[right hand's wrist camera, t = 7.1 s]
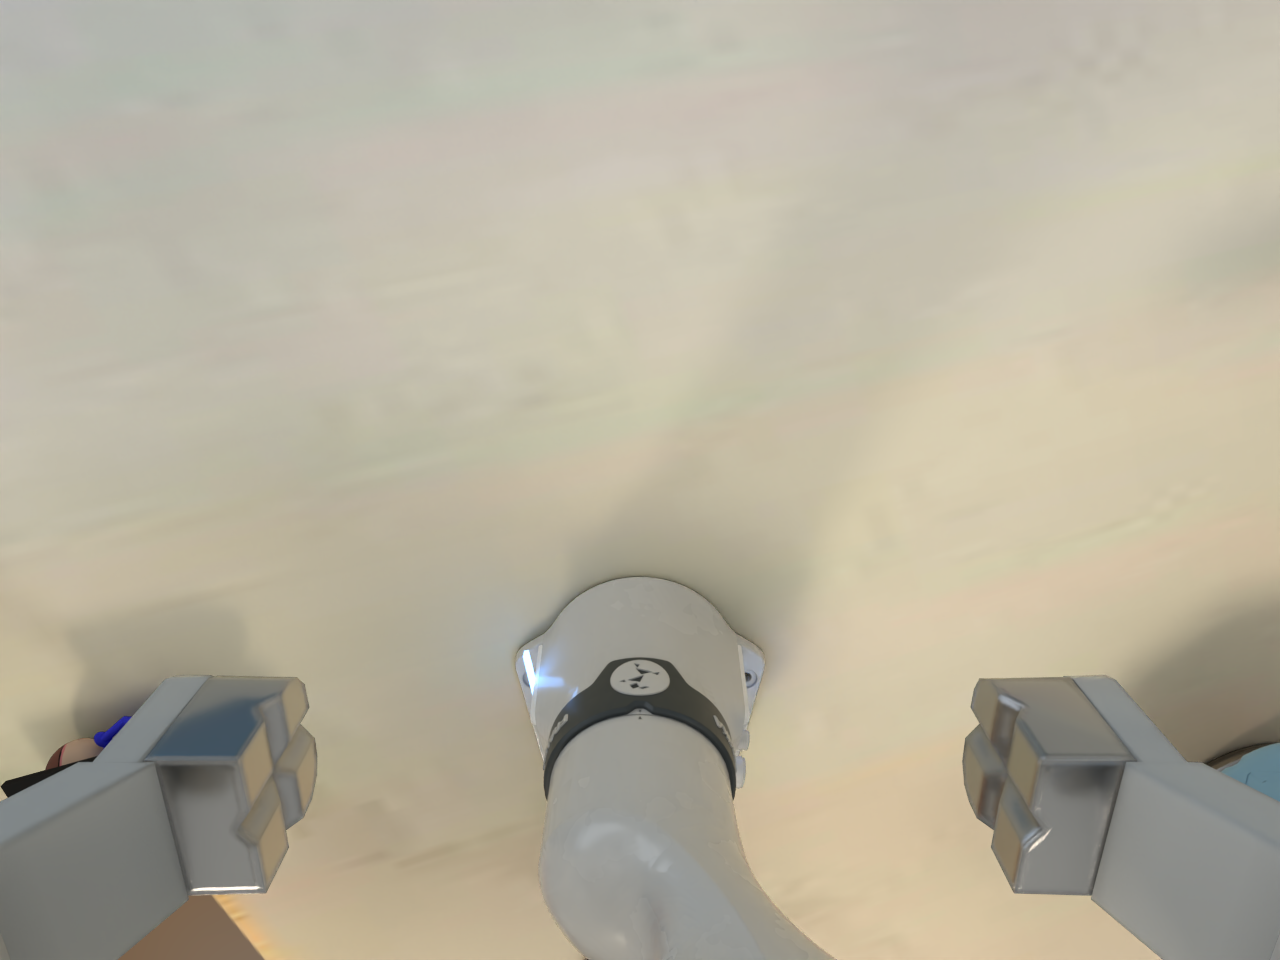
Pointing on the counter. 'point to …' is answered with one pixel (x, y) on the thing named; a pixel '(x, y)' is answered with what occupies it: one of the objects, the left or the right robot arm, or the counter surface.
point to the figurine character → (67, 758)
